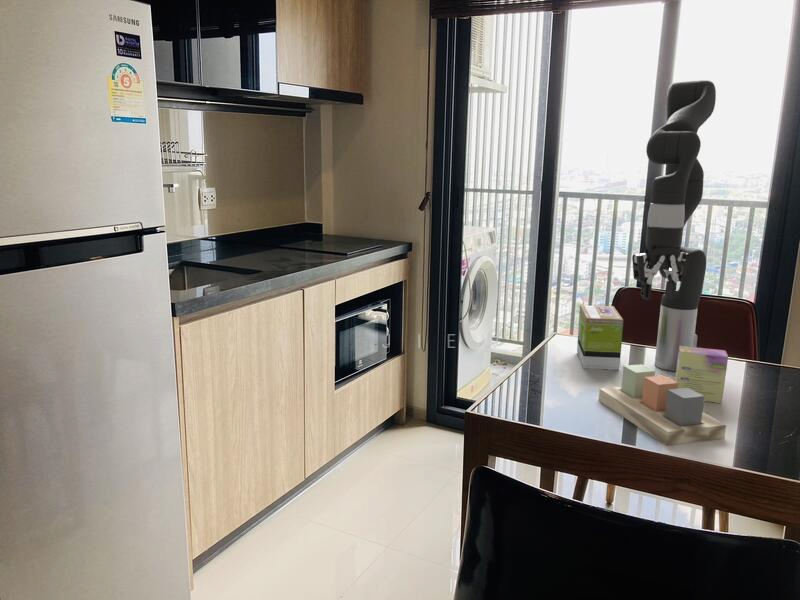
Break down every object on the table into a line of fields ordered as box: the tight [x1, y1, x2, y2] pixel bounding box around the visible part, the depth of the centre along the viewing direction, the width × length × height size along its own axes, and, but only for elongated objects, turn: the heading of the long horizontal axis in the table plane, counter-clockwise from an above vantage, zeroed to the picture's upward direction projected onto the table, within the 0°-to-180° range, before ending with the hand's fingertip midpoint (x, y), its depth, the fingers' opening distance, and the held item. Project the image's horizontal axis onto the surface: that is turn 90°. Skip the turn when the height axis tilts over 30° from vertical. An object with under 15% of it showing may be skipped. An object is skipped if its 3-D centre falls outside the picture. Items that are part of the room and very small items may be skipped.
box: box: [674, 346, 729, 404], centre depth 158 cm, size 10×6×12 cm, turn 71°
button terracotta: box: [642, 375, 679, 412], centre depth 145 cm, size 5×5×6 cm
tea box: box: [576, 304, 624, 371], centre depth 183 cm, size 15×10×15 cm, turn 172°
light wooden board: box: [598, 386, 727, 446], centre depth 146 cm, size 14×25×3 cm, turn 15°
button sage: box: [620, 363, 656, 399], centre depth 152 cm, size 5×5×6 cm
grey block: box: [665, 388, 705, 427], centre depth 137 cm, size 5×5×6 cm
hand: (657, 298), depth 149 cm, fingers open, 5 cm apart
